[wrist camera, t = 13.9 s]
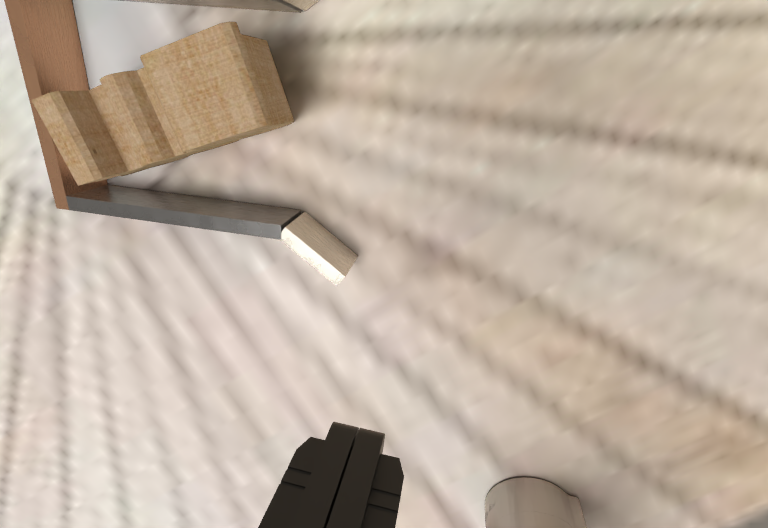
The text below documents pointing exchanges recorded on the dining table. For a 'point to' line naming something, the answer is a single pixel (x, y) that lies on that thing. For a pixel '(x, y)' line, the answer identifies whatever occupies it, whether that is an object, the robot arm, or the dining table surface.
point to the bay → (67, 73)
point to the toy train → (168, 106)
